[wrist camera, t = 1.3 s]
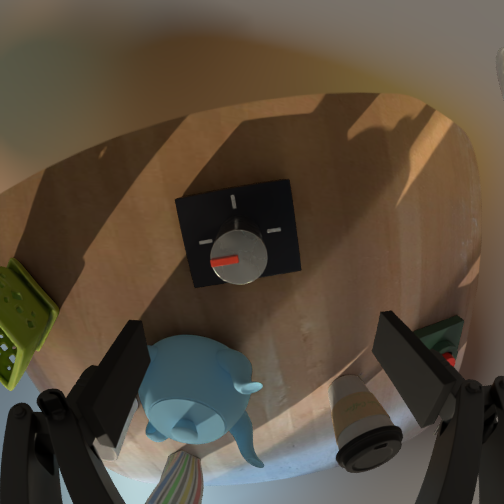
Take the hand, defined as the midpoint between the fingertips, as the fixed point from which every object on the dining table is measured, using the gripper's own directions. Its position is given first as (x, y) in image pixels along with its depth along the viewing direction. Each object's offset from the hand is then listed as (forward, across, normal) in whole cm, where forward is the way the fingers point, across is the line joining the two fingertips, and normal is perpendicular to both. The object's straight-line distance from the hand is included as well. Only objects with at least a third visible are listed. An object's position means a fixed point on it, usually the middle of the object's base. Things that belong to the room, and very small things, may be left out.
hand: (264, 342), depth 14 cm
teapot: (+19, -7, -18) cm, 27 cm away
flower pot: (+19, -36, -8) cm, 42 cm away
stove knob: (+16, -1, +2) cm, 16 cm away
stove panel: (+19, -1, +2) cm, 19 cm away
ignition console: (+19, +31, -19) cm, 41 cm away
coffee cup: (+19, +15, -24) cm, 34 cm away
